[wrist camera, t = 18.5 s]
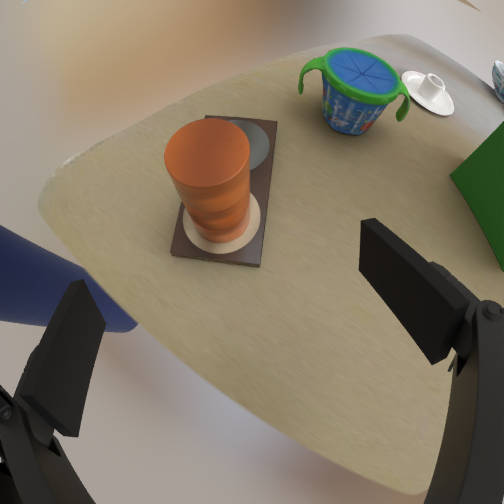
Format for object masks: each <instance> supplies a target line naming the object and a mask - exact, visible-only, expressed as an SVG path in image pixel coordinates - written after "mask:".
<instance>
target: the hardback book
mask: <svg viewBox="0 0 504 504" xmlns="http://www.w3.org/2000/svg"><path fill="white" fill-rule="evenodd" d="M450 176H451V178H452V179H453V181H454V182H455V184H456V186H457V187H458V189H459V190H460V192H461V193H462V195H463V197H464V198H465V200H466V201H467V203H468V205H469V206H470V208H471V210H472V212H473V213H474V215H475V217H476V219H477V220H478V222H479V224H480V226H481V228H482V230H483V231H484V233H485V235H486V237H487V239H488V241H489V243H490V245H491V247H492V249H493V251H494V253H495V255H496V258H497V260H498V262H499V264H500V266H501V269H502V271H504V121H503V122H502V123H501V125H500V126H499V127H498V128H497V129H496V130H495V131H494V132H493V133H492V134H491V135H490V136H489V137H488V138H487V139H486V140H485V141H484V142H483V143H482V144H481V145H480V146H479V147H478V148H477V149H476V150H475V151H474V152H473V153H472V154H471V155H470V156H469V157H468V158H467V159H466V160H465V161H464V162H463V163H462V164H461V165H460V166H459V167H458V168H457V169H456V170H454V171H453V172H452V173H451V174H450Z"/></svg>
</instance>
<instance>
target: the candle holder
mask: <svg viewBox="0 0 504 504" xmlns="http://www.w3.org/2000/svg"><path fill="white" fill-rule="evenodd" d="M401 79H402V82H403V83H404V84H405V86H406V87H407V90H408V92H409V94H410V95H411V97H412V98H413V99H415V100H416V101H417V102H418V103H419V104H421V105H422V106H423V107H425V108H426V109H428V110H430V111H432V112H434V113H436V114H439V115H445V116H446V115H450V114H452V113H453V111H454V105H453V102H452V99H451V98H450V96H449V94H448V93H447V92H446V91H445V84H444V82H443V81H442V80H441V79H440V78H439V77H438V76H436V75H434V74H431V73H428V74H427V75H424V74H421V73H419V72H416V71H407V72H405V73H403V75H402V78H401Z"/></svg>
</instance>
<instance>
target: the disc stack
mask: <svg viewBox="0 0 504 504" xmlns="http://www.w3.org/2000/svg"><path fill="white" fill-rule="evenodd" d="M164 161H165V166H166V168H167V170H168V173H169V175H170V177H171V179H172V181H173V183H174V185H175V187H176V189H177V191H178V194H179V196H180V198H181V200H182V202H183V204H184V206H185V208H186V210H187V212H188V214H189V216H190V218H191V220H192V222H193V224H194V226H195V228H196V230H197V232H198V233H199V234H200V235H201V236H202V237H203V238H204V239H206V240H208V241H210V242H214V243H227V242H231V241H233V240H235V239H237V238H238V237H240V236H241V235H242V234H243V233H244V232H245V230H246V229H247V227H248V224H249V221H250V145H249V141H248V138H247V136H246V135H245V133H244V132H243V131H242V130H241V129H240V128H239V127H238V126H237V125H235V124H233V123H231V122H229V121H226V120H222V119H215V118H209V119H201V120H197V121H194V122H191V123H189V124H187V125H185V126H184V127H182V128H181V129H179V130H178V131H177V132H176V133H175V134H174V135H173V136H172V137H171V139H170V140H169V142H168V144H167V146H166V149H165V154H164Z"/></svg>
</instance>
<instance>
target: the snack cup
mask: <svg viewBox="0 0 504 504" xmlns="http://www.w3.org/2000/svg"><path fill="white" fill-rule="evenodd" d="M313 69H318V70H320V71H321V72H322V79H323V100H322V113H323V115H324V118H325V120H326V121H327V123H329V124H330V125H331V127H332V128H333V129H334V130H337V131H340V132H342V133H346V134H354V135H360V134H362V133H363V132H365V131H367V130H368V129H369V127H370V126H371V125H372V124H373V123H374V122H375V120H376V119H377V118H378V116H380V114H381V113H382V112H383V111H384V109H385V108H386V106H387V105H388V104H389V103H391V102H392V101H394V100H395V99H396V97H397V96H398V95H399V94H403V95H404V96H405V99H404V101H403V103H402V105H401V107H400V108H399V109H398V111H397V112H396V118H397V121H399V122H400V121H402V120H403V119H404V118H405V116H406V115H407V113H408V110H409V107H410V97H409V92H408V90H407V87H406V86H405V84H404V83H403V82H402V81H401V80H400V78H399V76H398V74H397V73H396V71H395V70H394V69H393V68H392V67H391V66H390V65H389V64H388V63H386V62H385V61H384V60H382V59H381V58H379V57H377V56H375V55H374V54H371V53H369V52H366V51H363V50H360V49H355V48H336V49H333V50H331V51H329V52H328V53H327V54H326V55H325V56H323V57H319V58H315V59H313V60H311V61H310V62H308V63H307V64H306V65H305V66H304V67H303V69H302V71H301V73H300V78H299V85H298V90H299V94H302V92H303V87H304V85H303V76H304V74H305V73H307V72H309V71H311V70H313Z"/></svg>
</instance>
